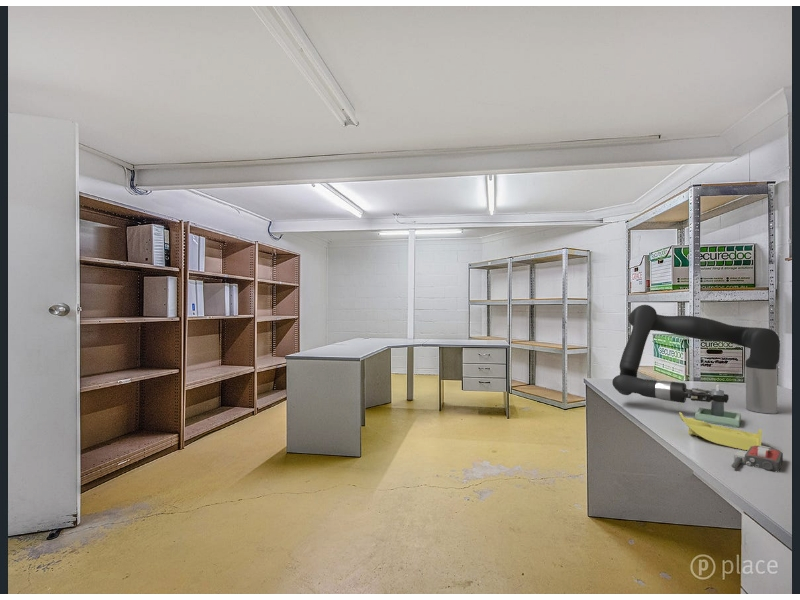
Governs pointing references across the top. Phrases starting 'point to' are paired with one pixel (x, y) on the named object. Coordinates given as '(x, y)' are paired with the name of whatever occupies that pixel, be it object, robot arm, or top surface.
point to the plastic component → (723, 434)
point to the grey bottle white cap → (717, 403)
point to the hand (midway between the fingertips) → (727, 398)
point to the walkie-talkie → (759, 458)
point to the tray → (718, 417)
